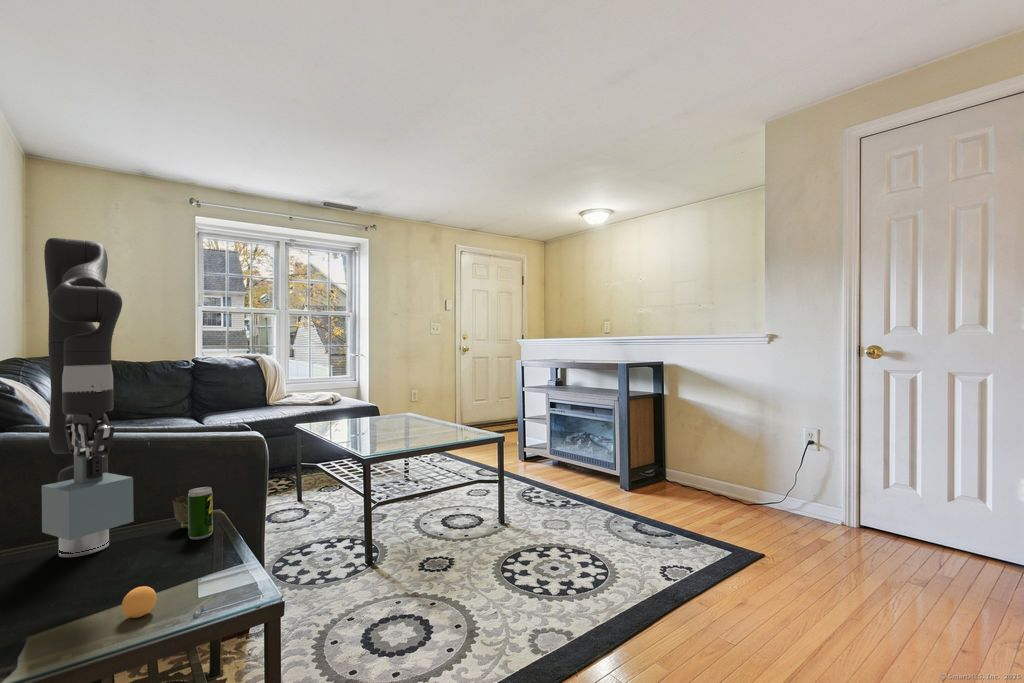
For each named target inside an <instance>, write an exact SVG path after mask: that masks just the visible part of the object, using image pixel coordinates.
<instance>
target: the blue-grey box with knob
mask: <svg viewBox="0 0 1024 683" xmlns="http://www.w3.org/2000/svg"><path fill="white" fill-rule="evenodd" d="M86 460H88V459H87V458H86V455H81V456H75V457H74V456H73V465H74V479H72V480H67V481H62V482H58V481H57V482H54V483H48V484H43V485H41V533H44V534H46V535H49V536H53V537H57V538H58V539H59V538H63V539H66V540H73V539H76V538H79V537H83V536H86V535H90V534H93V533H96V532H100V531H103V530H107V529H109V530H110V529H113V528H117V527H120V526H123V525H126V524H130V523H133V522H134V521H135V520H134V518H135V517H134V477H133V476H129V475H128V476H127V475H121V474H117V473H110V472H108V473H103V459H102V476H101V477H98V478H93V479H88V478H87V461H86Z"/></svg>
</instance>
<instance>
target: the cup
mask: <svg viewBox="0 0 1024 683" xmlns="http://www.w3.org/2000/svg"><path fill="white" fill-rule="evenodd" d="M171 501H172V508H173V513H174V518H175V520H176V521H177V522H179V523H181V524H180V526H181V528H182V529H188V495H187V496H182V495H181V496H180V497H176V498H175V501H174V500H171Z"/></svg>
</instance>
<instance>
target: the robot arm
mask: <svg viewBox="0 0 1024 683" xmlns="http://www.w3.org/2000/svg"><path fill="white" fill-rule="evenodd" d="M43 252H44V254H43V255H44V256H43V257H44V258H43V259H44V269H45V278H46V287H47V288H46V289H47V300H48V332H47V333H48V342H47V344H48V345H47V346H48V361H49V364H48V365H49V376H50V377H49V378H50V401H49V402H50V405H49V425H48V442H49V447H50V450H51V452H52V453H53V454H55V455H62V454H70V455H71V454H73V458H74V457H75V456H81V455H86V458H87V459H88V460H86V461H87V478H88V479H93V478H98V477H101V476H102V459H103V473H109V459H108V458H109V455H110V451H111V447H112V443H113V438H114V434H115V426H113V425H111V426H110V421H109V418H108V416H107V414H106V413H109V412H111V411H113V410H114V405H115V404H114V373H113V367H112V341H113V335H114V331H115V328H116V325H117V323H118V319H119V317H120V315H121V313H122V312H121V311H122V308H123V299H122V295H120V293H119V292H118V291H117V290H115V289H113V288H112V287H107V285H106V278H107V274H108V253H107V250H106V248H105V247H104V245H102V243H100V242H97V241H91V240H81V239H70V238H63V237H60V238H59V237H49V238H48V239H47V240H46V241H45V244H44V251H43ZM94 323H98V324H99V325H98V327H96V326H95V324H94ZM72 479H74V464H72V465H70V466H67V467H65V468H62V469H61V470H60V471H58V474H57V482H62V481H67V480H72ZM108 541H109V542H108ZM107 542H108V543H107ZM106 543H107V544H106ZM104 544H105V545H104ZM102 545H104V546H102ZM100 546H101V547H100ZM109 546H110V529H107V530H103V531H100V532H96V533H93V534H90V535H86V536H83V537H79V538H76V539H73V540H66V539H63V538H59V537H58V551H59V550H60V551H63V552H69V553H70V552H71V553H74V554H61V553H59V552H58V557H59V558H75V557H81V556H87V555H90V554H94V553H97V552H100V551H102V550H105V549H106V548H108V547H109ZM97 547H99V548H97ZM93 548H96V549H93ZM89 549H93V550H89ZM85 550H89V551H85ZM81 551H85V552H81ZM75 552H80V553H75Z"/></svg>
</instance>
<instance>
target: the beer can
mask: <svg viewBox="0 0 1024 683" xmlns="http://www.w3.org/2000/svg"><path fill="white" fill-rule="evenodd" d="M187 496H188V528H187V530H188V531H187V532H188V533H187V534H188V535H187V536H188V537H189V539H190V540H202V539H206V538H208V537H210V536H211V535H213V532H214V516H213V515H214V514H213V513H214V512H213V511H214V509H213V508H214V507H213V504H214V502H213V498H214V497H213V490H212V487H210V486H203V487H196V488H195V487H194V488H192V489H190V490H188V493H187Z"/></svg>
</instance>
